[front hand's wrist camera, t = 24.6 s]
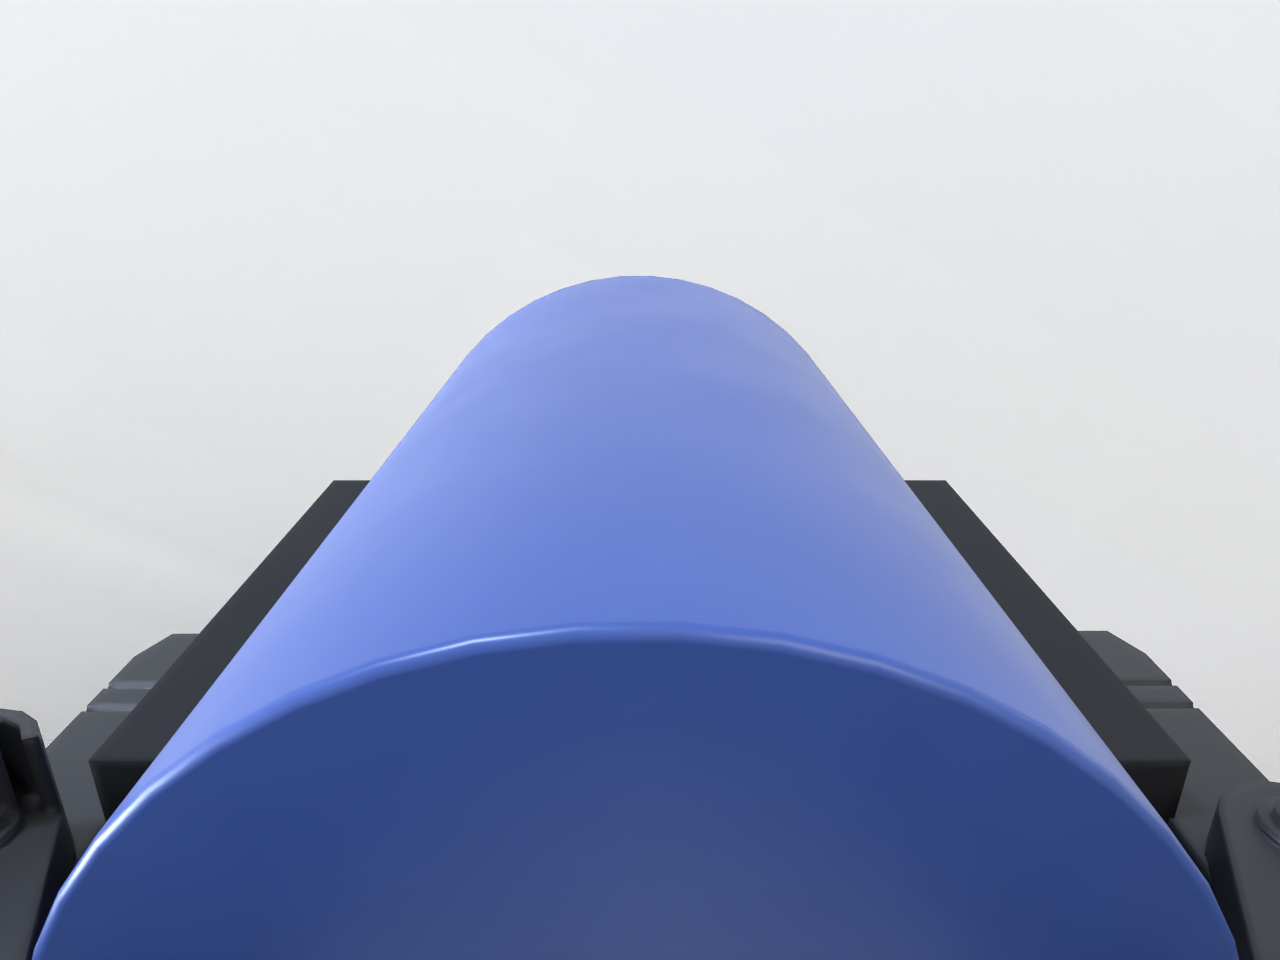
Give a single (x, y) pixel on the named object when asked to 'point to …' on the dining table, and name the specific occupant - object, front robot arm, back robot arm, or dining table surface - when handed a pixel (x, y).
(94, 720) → the front robot arm
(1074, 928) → the canister
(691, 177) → the dining table surface
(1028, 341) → the dining table surface
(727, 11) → the dining table surface
